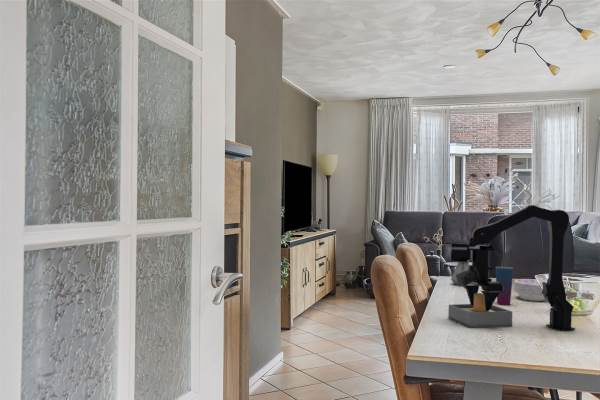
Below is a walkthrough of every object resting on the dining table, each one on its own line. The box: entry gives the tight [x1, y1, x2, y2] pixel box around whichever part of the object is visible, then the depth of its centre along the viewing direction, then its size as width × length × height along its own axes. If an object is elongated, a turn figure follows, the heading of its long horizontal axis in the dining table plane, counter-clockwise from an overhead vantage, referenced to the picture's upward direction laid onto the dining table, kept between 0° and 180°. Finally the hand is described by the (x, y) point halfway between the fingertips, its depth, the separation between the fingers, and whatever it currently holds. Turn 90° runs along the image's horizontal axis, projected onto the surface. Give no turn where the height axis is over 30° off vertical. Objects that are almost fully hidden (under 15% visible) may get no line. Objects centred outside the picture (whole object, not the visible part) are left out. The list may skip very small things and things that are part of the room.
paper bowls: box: [513, 278, 546, 302], centre depth 231 cm, size 15×15×8 cm
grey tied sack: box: [450, 259, 471, 287], centre depth 262 cm, size 21×12×15 cm, turn 161°
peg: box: [474, 292, 486, 312], centre depth 184 cm, size 4×4×9 cm
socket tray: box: [447, 303, 513, 329], centre depth 184 cm, size 14×16×5 cm
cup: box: [495, 266, 514, 306], centre depth 218 cm, size 7×7×15 cm
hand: (479, 308), depth 184 cm, fingers open, 9 cm apart
